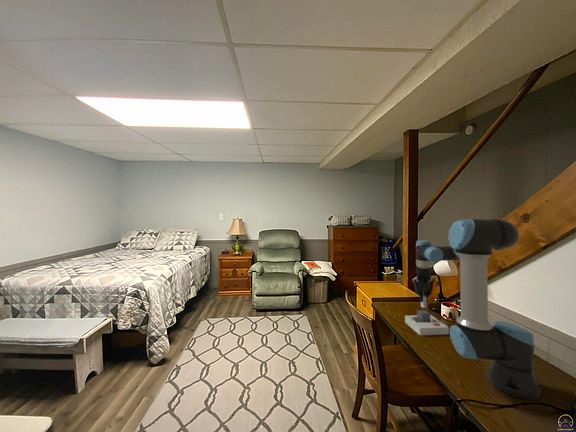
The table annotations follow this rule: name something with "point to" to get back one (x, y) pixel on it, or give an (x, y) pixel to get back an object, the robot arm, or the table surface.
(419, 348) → the table surface
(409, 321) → the socket plate
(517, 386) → the robot arm
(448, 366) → the table surface
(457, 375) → the table surface
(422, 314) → the plug
